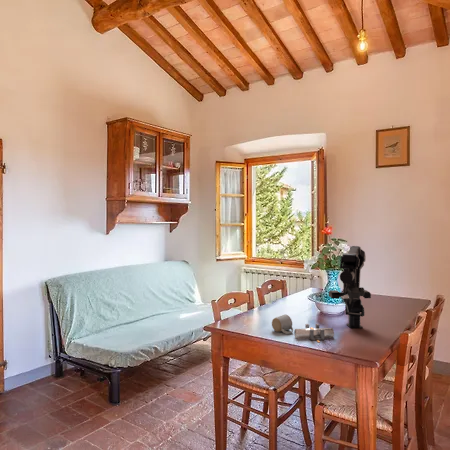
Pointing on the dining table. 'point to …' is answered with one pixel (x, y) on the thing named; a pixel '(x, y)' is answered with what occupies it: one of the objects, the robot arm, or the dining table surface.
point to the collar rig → (313, 333)
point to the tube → (306, 333)
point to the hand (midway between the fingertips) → (349, 312)
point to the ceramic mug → (282, 324)
